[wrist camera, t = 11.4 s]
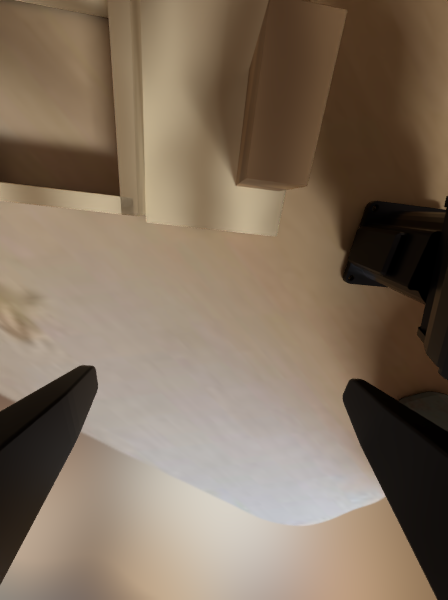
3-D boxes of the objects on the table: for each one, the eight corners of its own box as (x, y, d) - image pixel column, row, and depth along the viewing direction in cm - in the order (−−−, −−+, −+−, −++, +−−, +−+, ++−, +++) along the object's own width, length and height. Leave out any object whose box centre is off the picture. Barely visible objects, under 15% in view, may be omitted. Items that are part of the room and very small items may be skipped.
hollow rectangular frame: (314, 20, 13) (391, -117, 7) (273, 235, 18) (301, 249, 12) (-86, -62, 11) (-386, -331, 5) (-12, 203, 16) (-133, 203, 10)
